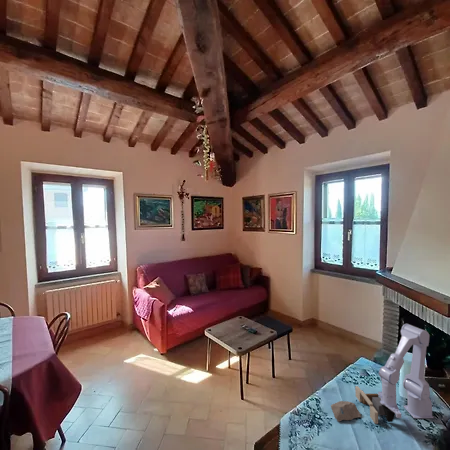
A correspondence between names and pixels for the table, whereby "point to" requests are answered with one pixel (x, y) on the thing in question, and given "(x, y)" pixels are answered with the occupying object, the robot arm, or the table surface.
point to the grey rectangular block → (378, 405)
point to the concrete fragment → (345, 410)
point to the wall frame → (372, 410)
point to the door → (369, 398)
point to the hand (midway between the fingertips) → (389, 420)
